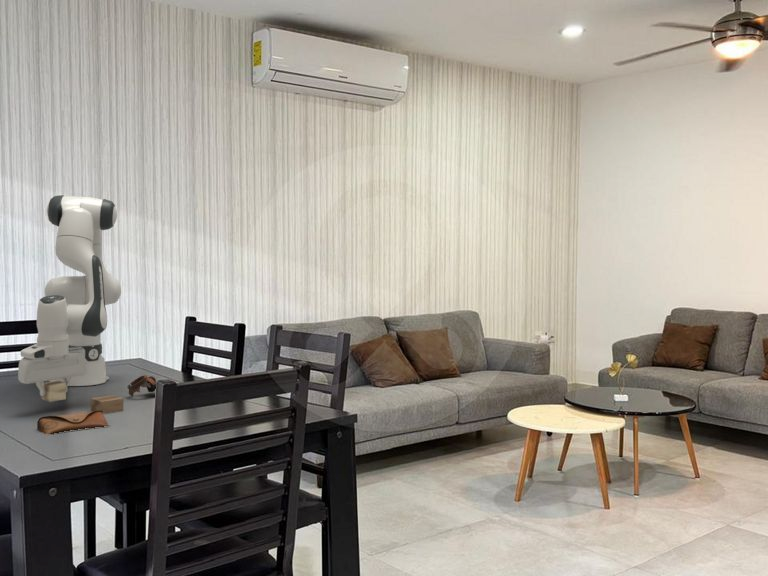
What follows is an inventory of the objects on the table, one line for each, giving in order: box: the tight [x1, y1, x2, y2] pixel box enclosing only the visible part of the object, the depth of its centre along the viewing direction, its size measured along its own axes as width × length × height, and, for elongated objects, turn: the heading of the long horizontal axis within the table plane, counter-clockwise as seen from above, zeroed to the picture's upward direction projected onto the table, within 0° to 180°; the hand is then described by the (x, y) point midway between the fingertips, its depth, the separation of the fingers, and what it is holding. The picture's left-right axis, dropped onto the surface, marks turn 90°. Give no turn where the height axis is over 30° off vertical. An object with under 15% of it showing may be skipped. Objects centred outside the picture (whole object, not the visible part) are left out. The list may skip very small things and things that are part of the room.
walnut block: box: [90, 394, 124, 414], centre depth 234 cm, size 7×7×4 cm
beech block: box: [41, 381, 67, 403], centre depth 234 cm, size 5×5×5 cm
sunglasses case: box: [36, 410, 110, 435], centre depth 212 cm, size 18×7×7 cm, turn 128°
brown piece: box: [127, 374, 157, 397], centre depth 256 cm, size 12×10×8 cm
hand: (53, 393), depth 234 cm, fingers closed on beech block, 5 cm apart
